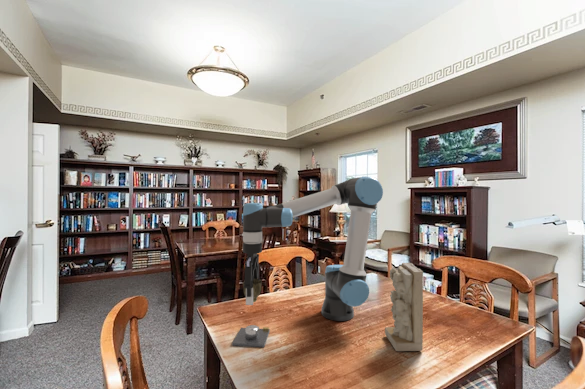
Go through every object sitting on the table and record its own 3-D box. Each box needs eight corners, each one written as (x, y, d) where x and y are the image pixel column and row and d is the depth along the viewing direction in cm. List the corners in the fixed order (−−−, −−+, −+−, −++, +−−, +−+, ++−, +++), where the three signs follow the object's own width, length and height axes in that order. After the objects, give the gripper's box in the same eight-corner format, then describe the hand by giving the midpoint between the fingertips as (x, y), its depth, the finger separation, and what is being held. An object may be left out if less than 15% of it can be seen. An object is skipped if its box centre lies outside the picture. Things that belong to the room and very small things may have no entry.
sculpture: (384, 335, 112) (384, 260, 112) (410, 335, 112) (410, 261, 112) (395, 353, 99) (395, 269, 99) (423, 353, 99) (424, 269, 99)
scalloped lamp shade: (257, 305, 104) (258, 284, 104) (239, 304, 106) (239, 283, 106) (264, 298, 112) (264, 278, 112) (246, 297, 113) (247, 277, 113)
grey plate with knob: (269, 331, 114) (269, 321, 114) (263, 347, 102) (264, 336, 102) (241, 330, 115) (241, 320, 115) (232, 345, 103) (232, 334, 103)
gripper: (249, 238, 119) (248, 291, 119) (235, 246, 99) (234, 310, 99) (266, 238, 118) (266, 292, 118) (256, 247, 99) (255, 311, 99)
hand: (251, 300), depth 109 cm, fingers closed on scalloped lamp shade, 7 cm apart
